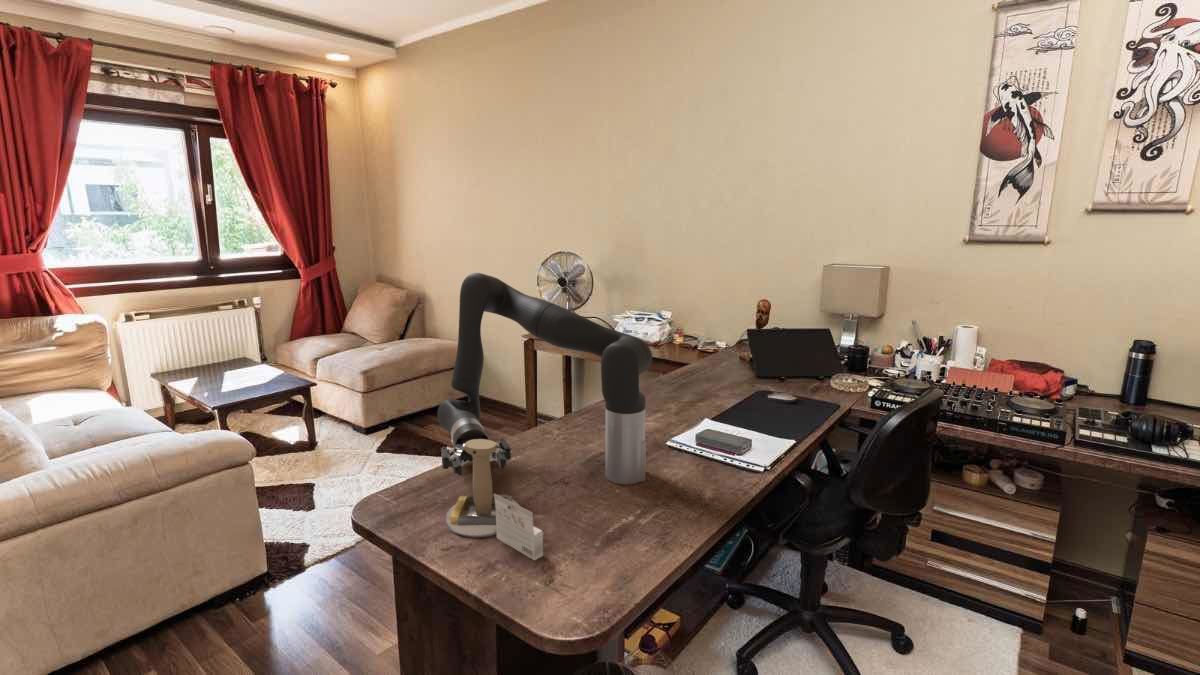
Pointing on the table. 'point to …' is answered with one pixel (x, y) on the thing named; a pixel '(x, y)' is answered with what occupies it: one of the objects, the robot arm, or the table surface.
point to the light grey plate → (473, 518)
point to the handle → (481, 473)
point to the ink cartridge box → (518, 528)
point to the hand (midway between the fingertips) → (481, 467)
